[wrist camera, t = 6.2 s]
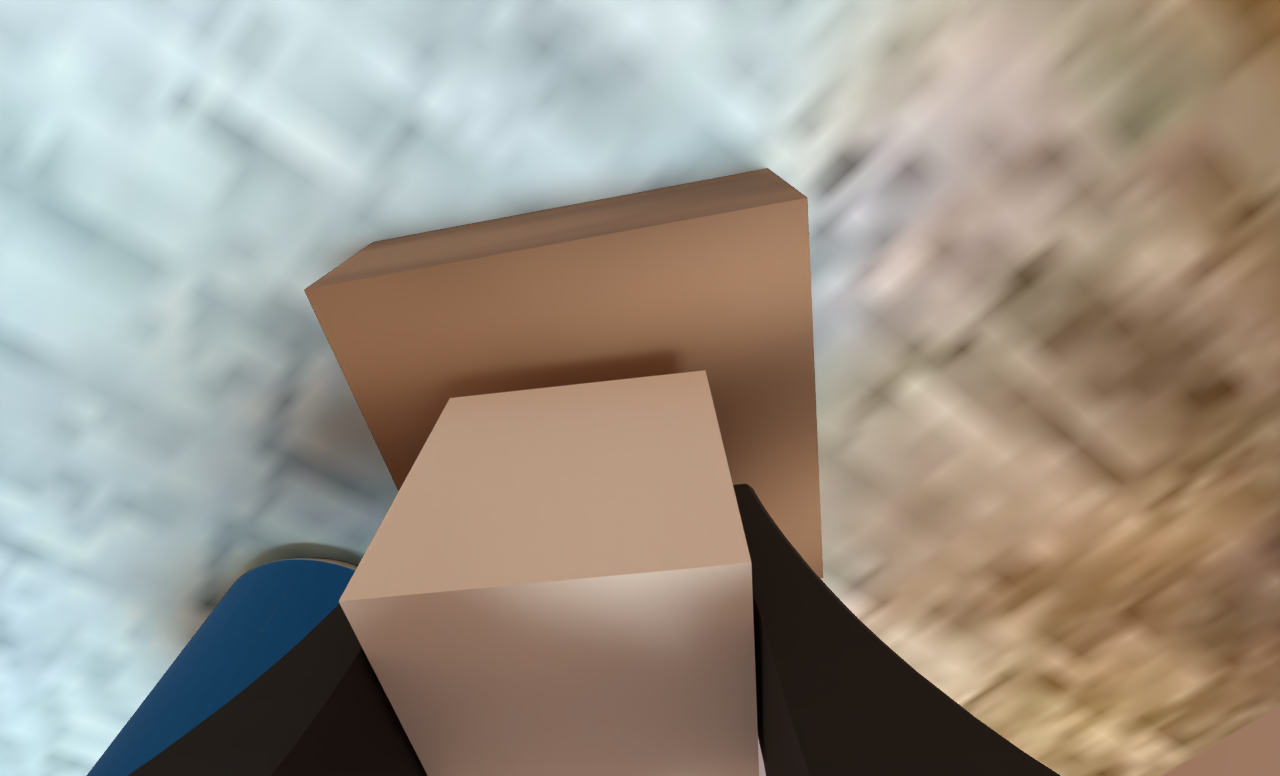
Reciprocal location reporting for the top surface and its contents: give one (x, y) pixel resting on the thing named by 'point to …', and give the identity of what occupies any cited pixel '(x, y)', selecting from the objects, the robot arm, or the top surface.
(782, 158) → the top surface
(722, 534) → the cube
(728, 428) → the walnut box
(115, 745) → the beverage can
